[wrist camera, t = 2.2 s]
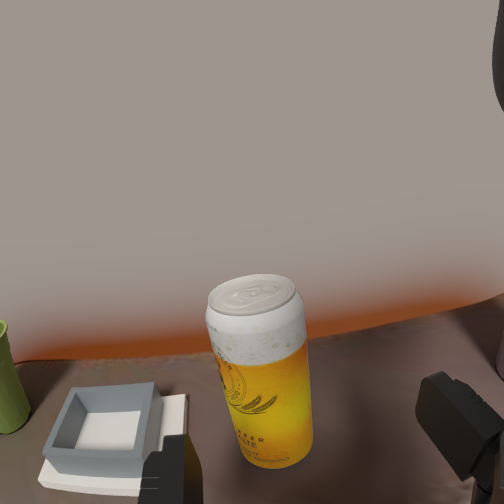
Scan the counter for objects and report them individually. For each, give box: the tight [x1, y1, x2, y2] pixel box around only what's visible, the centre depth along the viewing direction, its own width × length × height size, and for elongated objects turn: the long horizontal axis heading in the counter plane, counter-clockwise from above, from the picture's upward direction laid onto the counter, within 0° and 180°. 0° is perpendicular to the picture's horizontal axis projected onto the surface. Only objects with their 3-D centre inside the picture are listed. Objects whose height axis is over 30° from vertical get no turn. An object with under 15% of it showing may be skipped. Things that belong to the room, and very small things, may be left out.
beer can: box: [205, 274, 313, 469], centre depth 22 cm, size 6×6×15 cm
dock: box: [38, 382, 188, 496], centre depth 24 cm, size 14×12×4 cm
